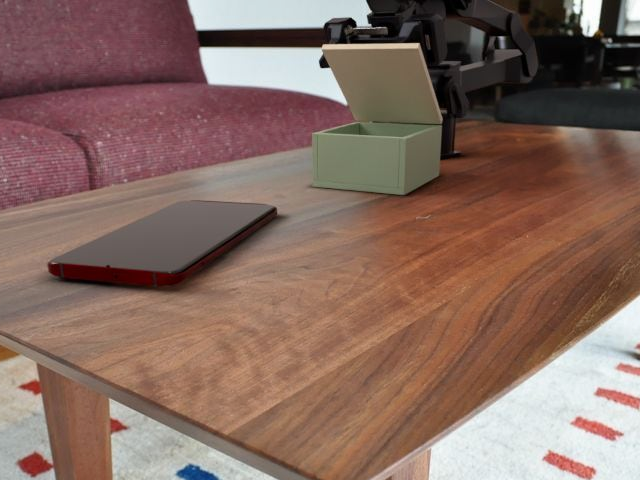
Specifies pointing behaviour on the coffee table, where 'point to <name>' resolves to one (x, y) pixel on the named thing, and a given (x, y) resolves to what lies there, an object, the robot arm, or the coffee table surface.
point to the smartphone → (164, 243)
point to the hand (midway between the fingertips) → (346, 65)
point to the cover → (384, 82)
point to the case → (376, 157)
